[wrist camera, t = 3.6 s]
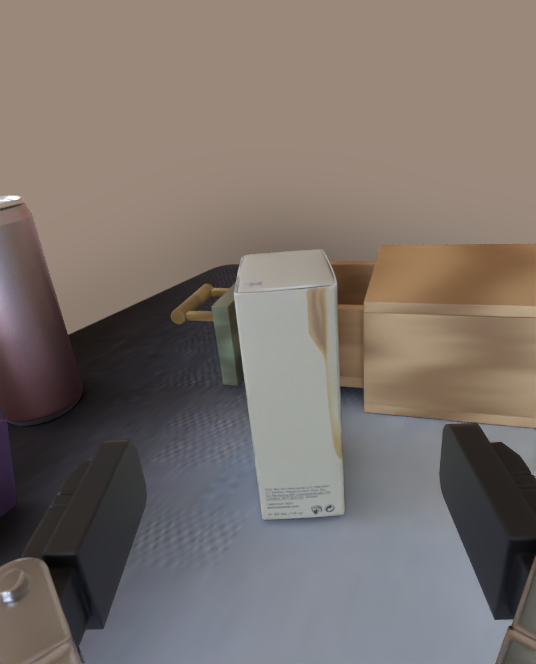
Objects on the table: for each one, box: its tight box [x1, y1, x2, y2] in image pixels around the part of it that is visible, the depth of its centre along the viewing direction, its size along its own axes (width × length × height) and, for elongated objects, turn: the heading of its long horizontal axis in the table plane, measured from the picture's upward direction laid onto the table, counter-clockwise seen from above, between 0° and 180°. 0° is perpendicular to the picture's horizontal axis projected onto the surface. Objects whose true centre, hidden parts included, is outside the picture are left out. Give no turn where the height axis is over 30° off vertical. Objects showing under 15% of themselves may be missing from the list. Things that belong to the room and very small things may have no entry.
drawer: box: [171, 261, 376, 388], centre depth 37 cm, size 17×11×6 cm, turn 74°
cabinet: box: [364, 244, 536, 428], centre depth 33 cm, size 13×12×8 cm
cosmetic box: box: [234, 249, 345, 520], centre depth 24 cm, size 6×4×12 cm
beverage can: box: [0, 195, 83, 426], centre depth 33 cm, size 6×6×15 cm
